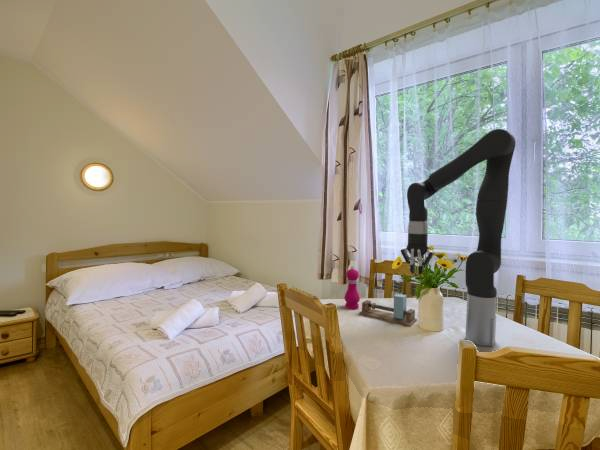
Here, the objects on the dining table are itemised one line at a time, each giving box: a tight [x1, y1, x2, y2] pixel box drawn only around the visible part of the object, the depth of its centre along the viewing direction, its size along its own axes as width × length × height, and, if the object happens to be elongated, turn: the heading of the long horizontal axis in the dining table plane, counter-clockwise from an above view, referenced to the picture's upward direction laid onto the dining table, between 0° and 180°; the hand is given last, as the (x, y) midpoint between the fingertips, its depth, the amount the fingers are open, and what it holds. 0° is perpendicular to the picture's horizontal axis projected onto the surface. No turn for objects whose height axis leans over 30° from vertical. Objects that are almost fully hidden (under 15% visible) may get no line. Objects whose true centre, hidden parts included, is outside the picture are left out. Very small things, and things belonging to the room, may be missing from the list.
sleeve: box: [393, 293, 408, 319], centre depth 138 cm, size 4×4×9 cm
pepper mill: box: [344, 266, 361, 310], centre depth 155 cm, size 7×7×20 cm
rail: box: [358, 299, 418, 327], centre depth 141 cm, size 23×8×5 cm, turn 53°
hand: (416, 274), depth 133 cm, fingers closed
